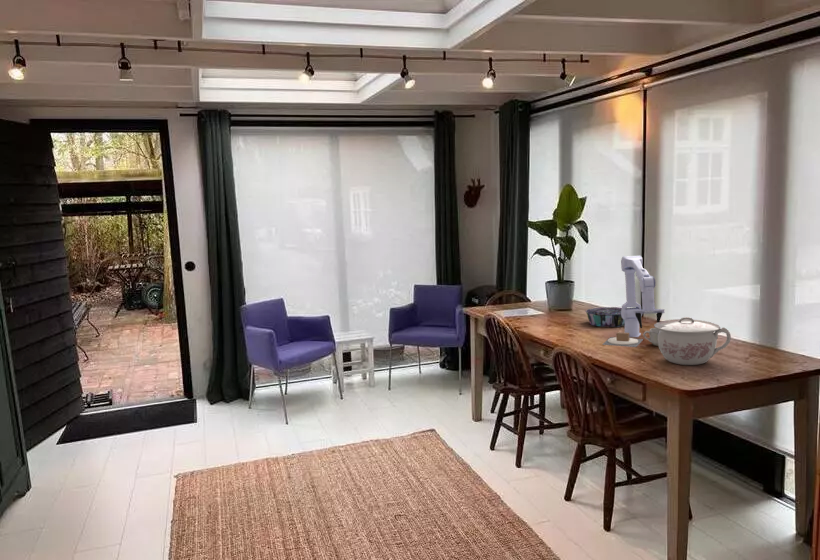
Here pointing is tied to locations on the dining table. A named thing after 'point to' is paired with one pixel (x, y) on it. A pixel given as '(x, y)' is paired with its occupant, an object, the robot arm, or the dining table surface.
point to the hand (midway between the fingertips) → (649, 328)
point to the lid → (622, 339)
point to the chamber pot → (689, 340)
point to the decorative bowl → (605, 317)
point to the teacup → (652, 335)
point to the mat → (623, 345)
